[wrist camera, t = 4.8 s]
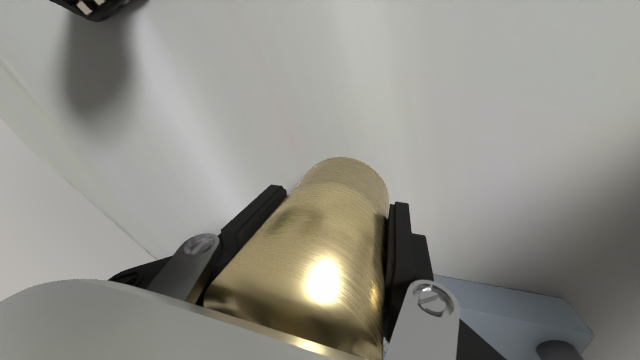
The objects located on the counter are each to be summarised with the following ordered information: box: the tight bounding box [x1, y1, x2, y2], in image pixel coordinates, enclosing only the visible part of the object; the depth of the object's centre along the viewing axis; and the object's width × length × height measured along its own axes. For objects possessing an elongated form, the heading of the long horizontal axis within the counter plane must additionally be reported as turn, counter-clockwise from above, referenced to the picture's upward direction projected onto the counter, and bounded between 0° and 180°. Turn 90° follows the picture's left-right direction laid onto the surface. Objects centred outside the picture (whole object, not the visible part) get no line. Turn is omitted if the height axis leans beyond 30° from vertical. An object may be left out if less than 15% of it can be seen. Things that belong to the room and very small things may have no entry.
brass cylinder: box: [204, 157, 389, 360], centre depth 10 cm, size 5×5×8 cm
